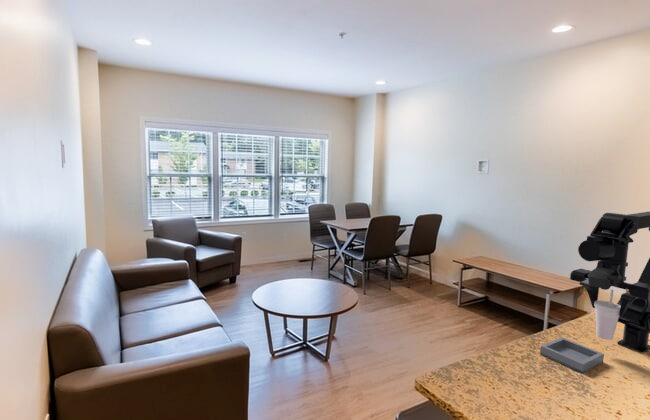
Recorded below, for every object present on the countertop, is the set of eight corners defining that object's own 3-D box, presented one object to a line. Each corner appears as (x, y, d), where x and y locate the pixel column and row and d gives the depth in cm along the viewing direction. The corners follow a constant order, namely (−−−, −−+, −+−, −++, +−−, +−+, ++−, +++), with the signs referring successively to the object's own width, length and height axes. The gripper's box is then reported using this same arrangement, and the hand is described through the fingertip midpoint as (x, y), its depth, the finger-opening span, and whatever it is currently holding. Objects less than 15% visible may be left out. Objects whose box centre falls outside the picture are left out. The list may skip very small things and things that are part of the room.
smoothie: (623, 343, 101) (629, 294, 99) (597, 340, 102) (603, 292, 100) (610, 332, 107) (616, 286, 105) (586, 330, 108) (591, 285, 107)
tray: (561, 345, 110) (562, 337, 110) (603, 362, 100) (604, 353, 100) (540, 354, 105) (540, 345, 104) (582, 373, 95) (583, 364, 95)
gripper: (562, 254, 106) (557, 305, 108) (642, 271, 90) (634, 331, 92) (582, 250, 111) (577, 299, 113) (661, 265, 95) (653, 322, 97)
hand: (607, 311), depth 104 cm, fingers closed on smoothie, 6 cm apart
